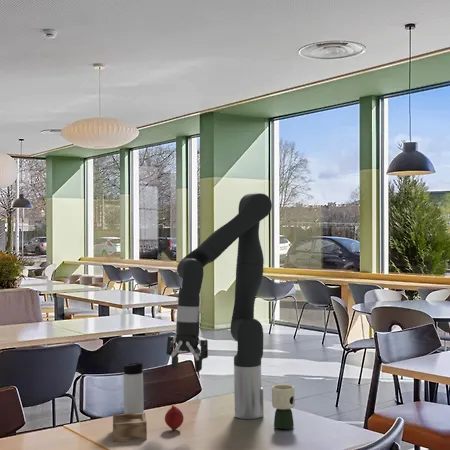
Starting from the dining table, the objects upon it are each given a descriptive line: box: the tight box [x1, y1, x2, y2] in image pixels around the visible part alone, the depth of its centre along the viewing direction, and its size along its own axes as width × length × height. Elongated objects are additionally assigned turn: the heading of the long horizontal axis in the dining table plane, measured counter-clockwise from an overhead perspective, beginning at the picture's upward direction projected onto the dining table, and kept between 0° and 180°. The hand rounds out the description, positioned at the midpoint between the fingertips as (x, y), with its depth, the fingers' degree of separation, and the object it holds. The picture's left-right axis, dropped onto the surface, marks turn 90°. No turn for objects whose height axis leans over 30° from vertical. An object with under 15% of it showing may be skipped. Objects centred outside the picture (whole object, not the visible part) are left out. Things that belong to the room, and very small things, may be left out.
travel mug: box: [123, 362, 145, 414], centre depth 211 cm, size 6×7×20 cm
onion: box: [164, 404, 185, 431], centre depth 204 cm, size 6×6×8 cm
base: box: [112, 412, 148, 443], centre depth 199 cm, size 10×10×5 cm
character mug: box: [271, 384, 296, 430], centre depth 204 cm, size 11×7×13 cm, turn 169°
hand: (186, 370), depth 209 cm, fingers open, 8 cm apart
